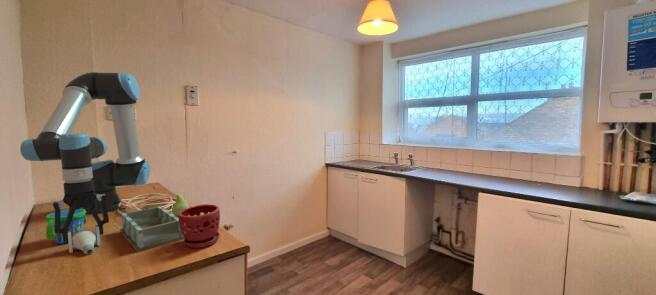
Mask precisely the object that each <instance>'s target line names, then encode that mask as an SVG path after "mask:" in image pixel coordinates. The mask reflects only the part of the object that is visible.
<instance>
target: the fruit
mask: <svg viewBox="0 0 656 295" xmlns="http://www.w3.org/2000/svg"><path fill="white" fill-rule="evenodd" d="M169 193H170V194H173V195H175V196H176V197H175V198H176V200H175V203H174V204H173V206H172V207H171V213H172V214H173V215H175V216H176V217H178V214H179V212H180V211H182V210H184V209H186V208H189V207H190V204H189V203H188V202H187V201H186V199H185V198H184V197H183V196H182V195H181V194H179V193H175V192H172V191H170V190H169Z"/></svg>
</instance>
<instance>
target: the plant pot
mask: <svg viewBox="0 0 656 295" xmlns="http://www.w3.org/2000/svg"><path fill="white" fill-rule="evenodd" d="M202 213H203V214H202ZM220 213H221V212H220V207H219V206H218V205H217V204H216V205H215V204H199V205H193V206H189V208H186V209H184V210H182V211H180V212H179V214H178V216H177V217H178V218H179V225H180V229H181V232H182V234H183V236H184V237H185V239H183V244H184V245H185V246H186V247H189V248H198V249H199V248H205V247H208V246H210V245H212V244H215V243H216V242H217V241H218V240H219V238H220V237H221V234H220V232H219V229H220V220H221V214H220Z"/></svg>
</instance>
